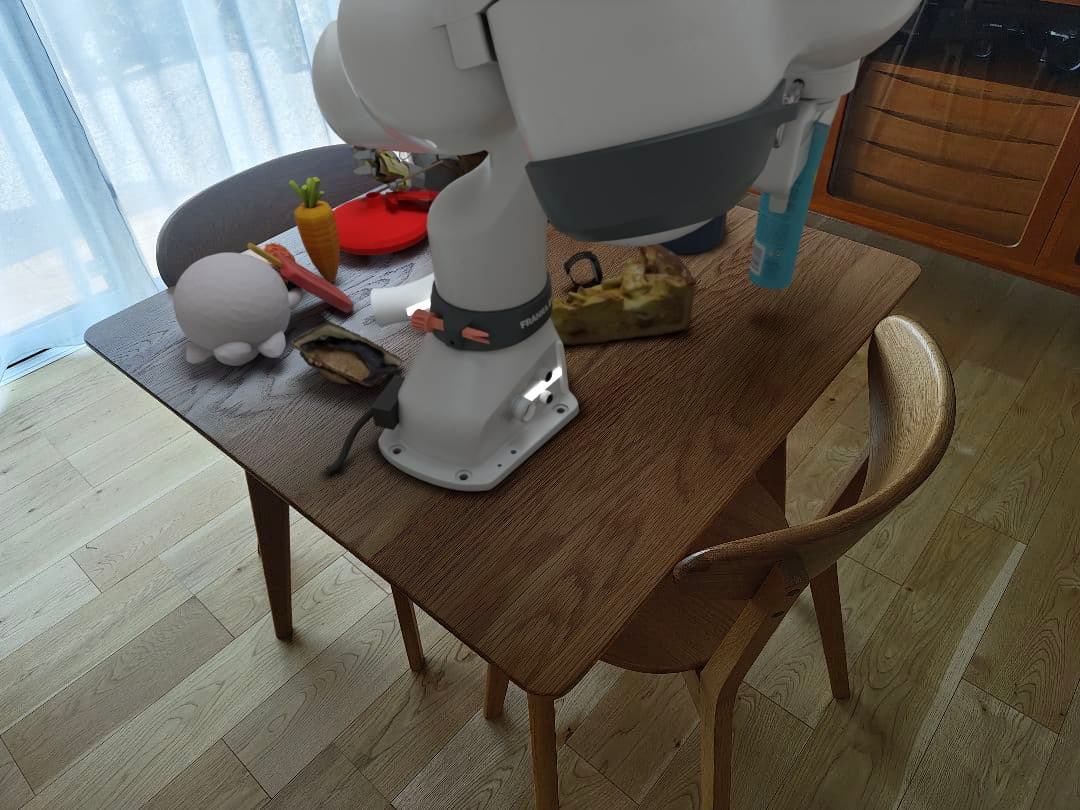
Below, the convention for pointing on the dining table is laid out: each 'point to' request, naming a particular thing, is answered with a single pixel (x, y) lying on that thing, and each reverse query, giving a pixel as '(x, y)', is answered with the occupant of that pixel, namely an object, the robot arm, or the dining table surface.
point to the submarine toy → (411, 199)
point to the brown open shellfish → (346, 356)
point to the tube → (785, 223)
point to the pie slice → (629, 302)
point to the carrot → (318, 229)
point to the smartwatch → (594, 265)
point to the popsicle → (306, 279)
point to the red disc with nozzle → (378, 226)
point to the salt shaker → (399, 300)
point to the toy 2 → (389, 169)
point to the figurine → (271, 250)
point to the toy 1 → (233, 308)
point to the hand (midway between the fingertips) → (784, 199)
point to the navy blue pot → (699, 238)
